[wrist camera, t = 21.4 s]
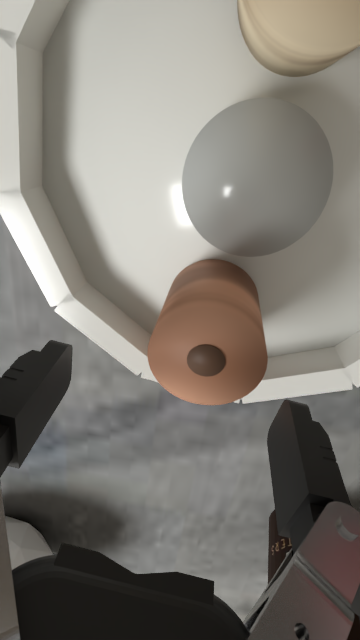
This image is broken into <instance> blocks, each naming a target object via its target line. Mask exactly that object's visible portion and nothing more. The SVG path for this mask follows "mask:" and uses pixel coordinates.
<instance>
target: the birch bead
mask: <svg viewBox="0 0 360 640" xmlns="http://www.w3.org/2000/svg"><path fill="white" fill-rule="evenodd" d="M237 11H238V19H239V25H240V29H241V33H242V36H243V38H244V41H245V43H246V45H247V47H248V49H249V51H250V52H251V54H252V55H253V57H254V58H255V59H256V60H257V61H258V62H259V63H260V64H261V65H262V66H264V67H265V68H266V69H268V70H270V71H271V72H273V73H276V74H279V75H281V76H287V77H302V76H308V75H311V74H315V73H317V72H319V71H322V70H324V69H326V68H327V67H329V66H331V65H332V64H334V63H335V62H337V61H338V60H340V59H341V58H343V57H344V56H346V55H347V54H349V53H350V52H352V51H353V50H355V49H356V48H358V47H359V46H360V0H237Z"/></svg>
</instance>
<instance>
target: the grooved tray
mask: <svg viewBox="0 0 360 640" xmlns="http://www.w3.org/2000/svg"><path fill="white" fill-rule="evenodd" d="M0 214H1V216H2V218H3V219H4V221H5V223H6V225H7V227H8V229H9V231H10V232H11V234H12V236H13V238H14V240H15V242H16V243H17V245H18V247H19V249H20V251H21V253H22V255H23V256H24V258H25V260H26V262H27V264H28V266H29V268H30V269H31V271H32V273H33V275H34V277H35V279H36V281H37V282H38V284H39V286H40V288H41V290H42V292H43V294H44V295H45V297H46V299H47V301H48V303H49V305H50V306H51V307H53V306H57V305H58V306H57V307H56V309H55V310H54V311H55V312H56V313H58V314H59V315H60V316H61V317H63V318H64V319H65V320H67V321H68V322H69V323H70V324H72V325H73V326H74V327H75V328H77V329H78V330H79V331H81V332H82V333H83V334H84V335H86V336H87V337H88V338H90V339H91V340H92V341H93V342H95V343H96V344H97V345H99V346H100V347H101V348H102V349H104V350H105V351H106V352H107V353H109V354H110V355H111V356H113V357H114V358H115V359H116V360H118V361H119V362H120V363H122V364H123V365H124V366H125V367H127V368H128V369H129V370H131V371H132V372H133V373H134V374H136V375H138V374H140V373H141V372H142V375H141V378H145V379H148V380H152V381H156V382H158V381H157V380H156V378H155V377H154V375H153V373H152V371H151V369H150V366H149V363H148V356H147V350H148V344H149V341H150V338H151V335H152V333H153V330H154V328H155V325H156V323H157V320H158V318H159V315H160V313H161V310H162V308H163V305H164V302H165V300H166V297H167V295H168V292H169V290H170V287H171V285H172V283H173V281H174V279H175V278H176V276H177V275H178V274H179V273H180V272H181V271H182V270H183V269H184V268H186V267H187V266H189V265H191V264H193V263H195V262H198V261H201V260H207V259H218V260H224V261H228V262H231V263H233V264H235V265H237V266H239V267H240V268H242V269H243V270H244V271H245V272H246V273H247V274H248V275H249V276H250V277H251V279H252V280H253V282H254V284H255V286H256V288H257V292H258V298H259V304H260V310H261V317H262V323H263V329H264V336H265V342H266V348H267V356H268V363H267V369H266V372H265V375H264V377H263V379H262V380H261V382H260V383H259V385H258V386H257V387H256V388H255V389H254V390H253V391H252V392H250V393H249V394H248V395H246V396H244V397H243V398H241V399H242V402H243V404H244V403H252V402H259V401H267V400H275V399H282V398H290V397H297V396H305V395H313V394H320V393H328V392H336V391H343V390H351V389H352V383H353V384H354V385H355V386H356V387H357V388H358V387H359V386H360V46H359V47H358V48H356V49H355V50H353V51H352V52H350V53H349V54H347V55H346V56H344V57H343V58H341V59H340V60H338V61H337V62H335V63H334V64H332V65H331V66H329V67H327V68H326V69H324V70H322V71H319V72H317V73H315V74H311V75H308V76H302V77H287V76H281V75H279V74H276V73H273V72H271V71H270V70H268V69H266V68H265V67H264V66H262V65H261V64H260V63H259V62H258V61H257V60H256V59H255V58H254V57H253V55H252V54H251V52H250V51H249V49H248V47H247V45H246V43H245V41H244V38H243V36H242V33H241V29H240V25H239V19H238V11H237V0H0ZM239 401H240V399H239V400H236V401H234V402H235V403H239Z"/></svg>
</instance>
